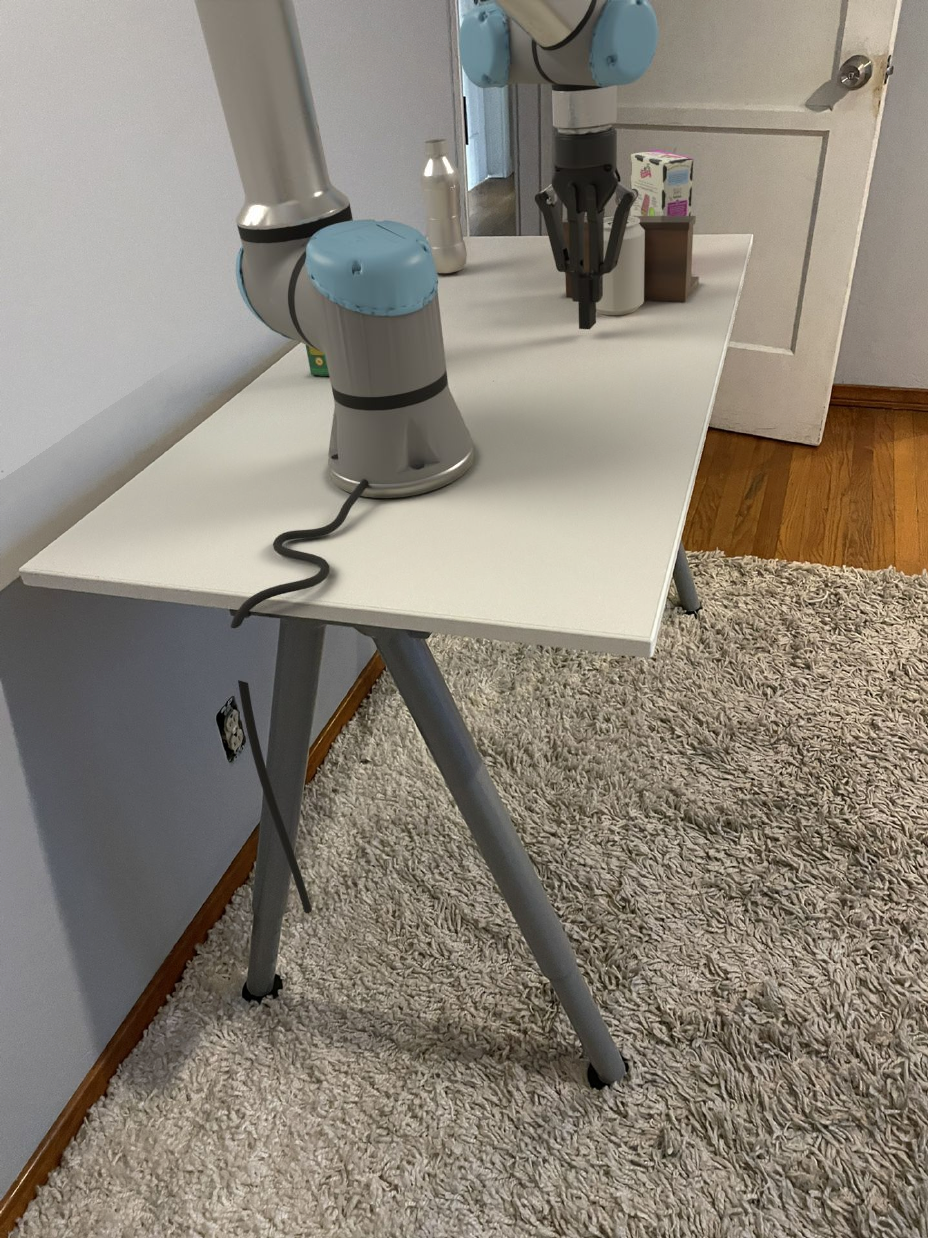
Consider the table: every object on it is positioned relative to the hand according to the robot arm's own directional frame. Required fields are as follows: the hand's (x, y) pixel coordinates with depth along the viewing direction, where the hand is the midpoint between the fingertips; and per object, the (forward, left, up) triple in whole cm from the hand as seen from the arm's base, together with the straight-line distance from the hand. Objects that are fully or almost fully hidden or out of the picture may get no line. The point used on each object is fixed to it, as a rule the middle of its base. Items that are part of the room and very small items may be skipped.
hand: (587, 325), depth 122 cm
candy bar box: (+31, -1, -2) cm, 31 cm away
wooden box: (+19, 0, -1) cm, 19 cm away
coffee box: (-18, +28, -2) cm, 33 cm away
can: (+11, -1, -2) cm, 12 cm away
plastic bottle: (+27, +34, -2) cm, 43 cm away
